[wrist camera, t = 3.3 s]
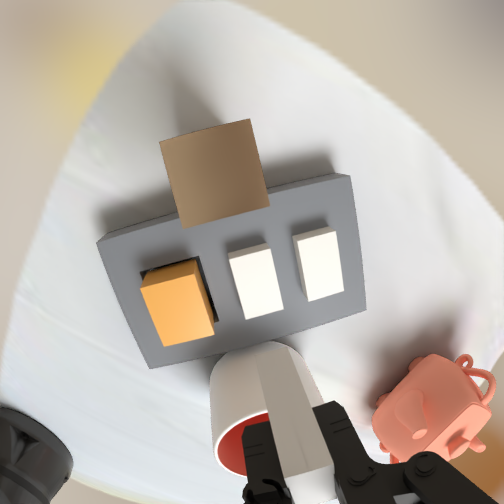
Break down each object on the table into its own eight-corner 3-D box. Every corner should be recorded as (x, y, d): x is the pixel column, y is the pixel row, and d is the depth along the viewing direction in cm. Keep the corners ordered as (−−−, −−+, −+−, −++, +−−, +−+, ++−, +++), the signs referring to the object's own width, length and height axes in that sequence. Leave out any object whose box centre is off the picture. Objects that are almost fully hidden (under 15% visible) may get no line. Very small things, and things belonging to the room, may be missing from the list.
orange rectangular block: (167, 325, 26) (163, 346, 23) (147, 271, 24) (139, 288, 21) (213, 313, 26) (214, 334, 23) (195, 258, 25) (194, 274, 22)
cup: (209, 410, 32) (215, 482, 23) (207, 335, 29) (211, 410, 20) (298, 404, 34) (323, 471, 24) (310, 332, 31) (348, 398, 21)
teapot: (364, 362, 33) (418, 440, 21) (469, 326, 35) (530, 376, 23) (353, 440, 38) (387, 508, 26) (446, 404, 40) (488, 455, 28)
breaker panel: (153, 350, 29) (147, 379, 25) (107, 233, 25) (89, 248, 21) (353, 296, 30) (373, 317, 26) (335, 172, 26) (358, 177, 22)
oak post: (193, 194, 25) (183, 229, 14) (180, 147, 24) (159, 141, 13) (241, 182, 26) (270, 206, 14) (230, 134, 24) (249, 118, 13)
